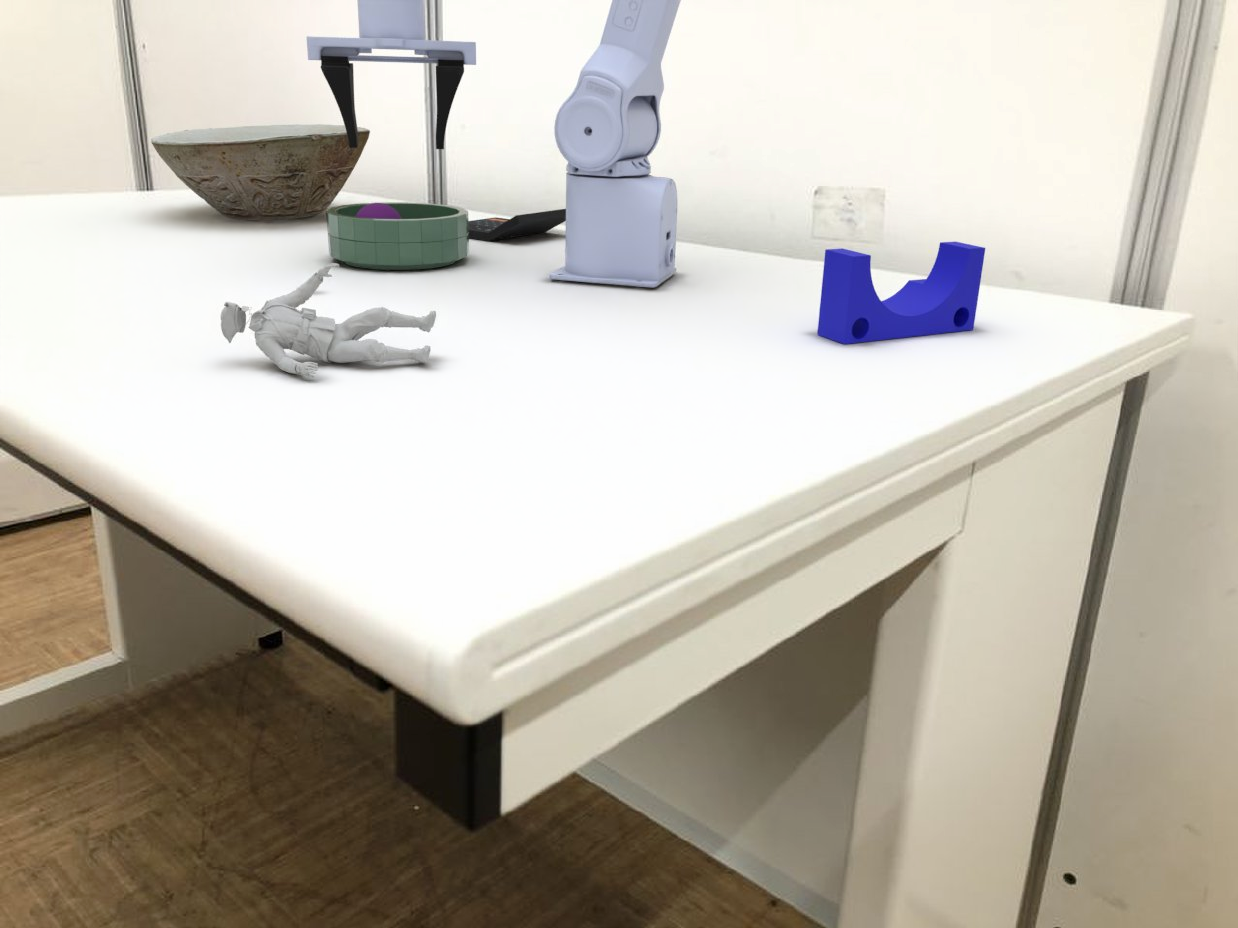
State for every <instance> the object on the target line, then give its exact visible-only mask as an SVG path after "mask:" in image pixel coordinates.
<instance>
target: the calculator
mask: <svg viewBox="0 0 1238 928" xmlns="http://www.w3.org/2000/svg"><path fill="white" fill-rule="evenodd" d="M468 223H469V232H468V233H469V239H473V240H478V241H483V242H484V241H485V242H492V241H497V240H505V239H511V238H517V237H523V236H529V235H530V236H531V235H535V234H541V233H542V234H543V233H547V232H548V231H550V230H553V229H554V228H556V227H558V226H559V225H561V224H563V223H566V208H561V209H553V210H545V211H539V212H531V213H525V214H524V213H523V214H517V215H514V216H512V217H511V218H503V217H488V218H481V219H474V220H468Z"/></svg>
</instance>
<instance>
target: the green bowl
mask: <svg viewBox="0 0 1238 928" xmlns="http://www.w3.org/2000/svg"><path fill="white" fill-rule="evenodd" d="M372 203H373V202H363V203H350V204H343V205H338V206H334V207H333V206H332V207H330V208H328V209H326V210H325V213H326V229H327V243H328V245H327V246H328V254H329V256H330V257H331V258H333V259H335V260H337V261H340V262H342V263H344V264H346V265H348V266H351V267H355V268H360V269H367V270H368V269H369V270H378V271H379V270H380V271H415V270H427V269H436V268H437V269H438V268H443V267H447V266H450V265H453V264H454V263H456V262H457V261H459V260H462V259H465V258H467V257H469V256H468V255H470V238H469V233H468V232H469V223H468V221H469V211H468V210H467V209H466V208H463V207H459V206H456V205H455V206H454V205H449V204H439V203H426V202H406V201H405V202H404V201H403V202H402V201H400V202H399V201H398V202H397V201H393V202H391V201H390V202H387V201H386V202H381V203H384V204H387V205H389V206H391V207H392V208H394V209H395V210H396V211H397V212H398V213H399V215H400V216H401V218H402V219H374V218H360V217H355V216H356V214H357V213H358V212H359V210H360V209H362V208H363V207H364V206H366V205H368V204H372Z"/></svg>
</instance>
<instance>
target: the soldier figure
mask: <svg viewBox="0 0 1238 928" xmlns="http://www.w3.org/2000/svg"><path fill="white" fill-rule="evenodd" d="M338 267H340V264H339V263H336V262H332V263H326V264H325V265H324V266H323V267H321V268H319V269H318V271H317V272H315V273H313V274H312V275H311V276H310V277H309V278H308V279H307V280H306V281H305V282H304V283H302V284H301V285H300V286H298V287H296V289H295V290H292V291H291V292H290V293H287V294H284V295H280V296H278V297H275V298H272V299H269V300H266V301H265V303H264V305H263V306H262V308H261V309H259V310H257V311H255V312H253V313H251V310H252V309H253V308H252V307H250V306H247V305H242V306H239V305H238V304H237V303H235V302H230V301H225V302H224V303H223V306H224V307H223V309H222V310H221V313H220V330H221V332H222V335H223V337H224V338H225V339H226V340H227V341H228V344H231V343H232V341H233V339H234V338H235V336H236V335H237V333H240V334H243V333H244V332H245V329H246V326H247V324H248V322H249V325H248V329H250V330H251V331H253V332H254V339H255V340H254V341H255V345H256V347H258V349H259V350H260V351H261V352H262V354H264V355H265V356H266V358H269V360H270V361H272V363H273V364H274V365H275V366H277V367H278V369H279V370H281V371H283V372H286V373H289V374H295V375H299V376H301V375H304V376H306V377H308V378H315V375H316V374H317V372H318V369H319V363H318V362H313V361H304V362H300V361H297V360H295V359H293V358H292V357H290V356H289V355H288V354H287V353H286V352H285V350H290V351H293V352H295V353H297V354H300V355H302V356H304V355H306V356H309V357H310V358H313V359H319V360H321V361H323V362H325V363H330V364H331V363H332V362H333V363H336V364H337V363H338V364H347V363H355V362H361V361H373V362H380V363H382V364H383V363H385V362H389V361H390V362H391V361H392V362H393V361H404V360H405V361H407V360H412V361H413V360H414V361H416V362H418V363H423V364H425V363H426V362H428V360H429V358H430V355H431V346H430V345H424V346H423V347H422V348H419V347H418V348H417V347H416V348H413V349H408V348H407V349H406V348H399V347H395V346H391V345H385V343H383V342H379V341H378V340H377V339H375V338H366V339H363V340H361V338H363V337H364V336H365V335H369V334H371V333H373V332H376V331H377V330H379V329H380V328H389V329H391V328H413V329H416V328H418V329H419V330H420V331H422V332H426V333H430V332H431V330H432V328H433V327H434V325H435V323H436V318H437V312H436V310H430V311H429V313H428V314H427V315H426V316H425V315H422V316H421V317H419V316H415V315H408V314H404V313H400V312H398V311H395V310H390V309H388V308H387V307H384V306H380V307H373V308H370V309H366V310H364V311H362V312H360V313H357V314H354V315H352V316H350V317H348V318H346V319H345V320H344V321H343V322H340V323H336V321H335V318H331V317H328V316H327V317H326V316H318V315H317V311H316V309H313V308H307V307H301V310H299V309H297V308H298V307H299V306H302V305H304V304H306V302H307V301H309V300H310V298H312V296H313V295H314V294H315V292H316V291H317V290H318V289H319V287H320V285H321V284H323V282H324V277H326V278H331V277H333V275H332V274H329V272H330V270H331V269H332V268H338ZM248 311H249V314H248V316H249V319H248V321H247V314H246V312H248Z"/></svg>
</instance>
